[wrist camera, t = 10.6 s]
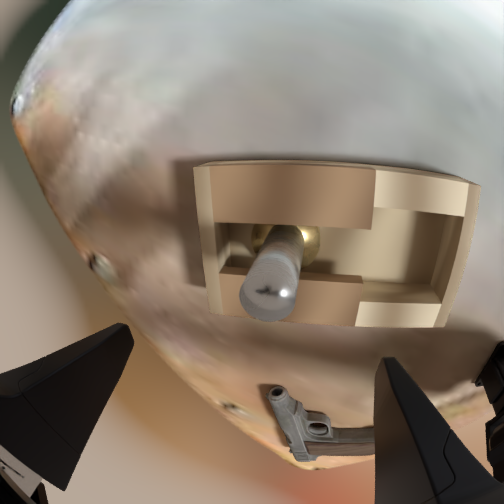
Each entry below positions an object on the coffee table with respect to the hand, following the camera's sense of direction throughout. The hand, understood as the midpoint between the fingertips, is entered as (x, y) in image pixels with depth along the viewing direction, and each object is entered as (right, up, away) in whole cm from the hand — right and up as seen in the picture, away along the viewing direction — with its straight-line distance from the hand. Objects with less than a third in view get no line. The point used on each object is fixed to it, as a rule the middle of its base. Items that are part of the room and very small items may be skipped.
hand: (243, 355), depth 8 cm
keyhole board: (+6, +4, +9) cm, 12 cm away
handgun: (+10, -16, +19) cm, 26 cm away
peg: (+3, +4, +10) cm, 11 cm away
